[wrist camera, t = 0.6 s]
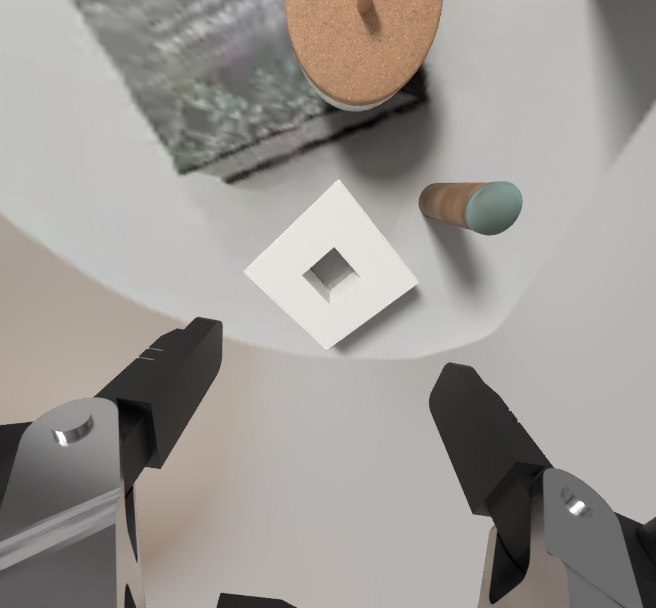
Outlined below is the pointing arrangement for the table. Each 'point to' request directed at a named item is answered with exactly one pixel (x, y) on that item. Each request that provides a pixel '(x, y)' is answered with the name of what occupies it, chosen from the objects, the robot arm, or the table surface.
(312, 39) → the lidded jar
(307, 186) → the table surface
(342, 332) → the socket block
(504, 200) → the walnut dowel
